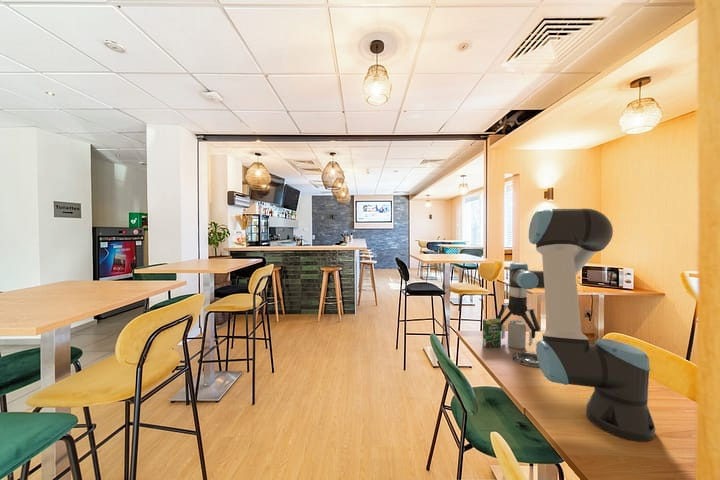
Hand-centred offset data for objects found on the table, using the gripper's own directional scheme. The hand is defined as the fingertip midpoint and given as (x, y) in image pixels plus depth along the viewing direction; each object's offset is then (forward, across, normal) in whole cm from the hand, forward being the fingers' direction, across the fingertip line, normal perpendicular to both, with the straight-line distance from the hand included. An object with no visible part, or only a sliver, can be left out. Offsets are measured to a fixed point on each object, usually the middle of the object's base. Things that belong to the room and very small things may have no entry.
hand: (516, 341), depth 143 cm
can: (+3, 0, 0) cm, 3 cm away
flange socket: (+3, -8, +12) cm, 15 cm away
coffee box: (+3, +9, +8) cm, 12 cm away
